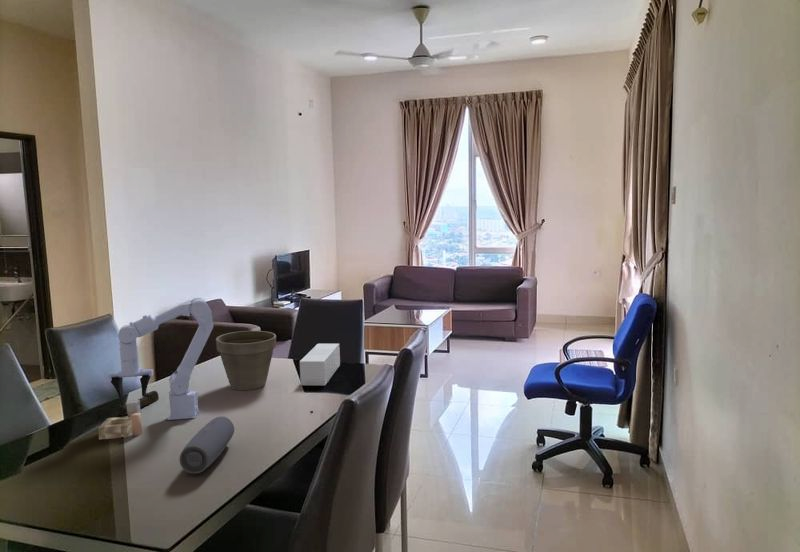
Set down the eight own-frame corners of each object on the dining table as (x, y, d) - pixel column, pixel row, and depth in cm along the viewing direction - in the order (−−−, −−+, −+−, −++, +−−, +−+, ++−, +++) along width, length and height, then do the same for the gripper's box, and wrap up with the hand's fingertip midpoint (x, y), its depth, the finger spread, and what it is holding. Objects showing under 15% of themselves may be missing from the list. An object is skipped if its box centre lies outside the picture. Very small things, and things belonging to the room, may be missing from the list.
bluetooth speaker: (208, 444, 180) (206, 414, 178) (236, 444, 179) (235, 414, 178) (178, 478, 157) (175, 444, 156) (211, 478, 157) (208, 444, 156)
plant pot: (290, 381, 244) (288, 333, 242) (247, 398, 223) (244, 345, 221) (250, 374, 257) (247, 328, 255) (206, 389, 237) (203, 339, 234)
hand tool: (125, 417, 206) (124, 405, 206) (117, 416, 208) (116, 404, 207) (163, 401, 224) (163, 390, 223) (156, 400, 225) (155, 389, 225)
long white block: (318, 365, 271) (317, 343, 269) (340, 365, 270) (339, 343, 268) (300, 385, 239) (299, 361, 238) (325, 385, 238) (324, 361, 237)
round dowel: (143, 432, 191) (141, 412, 190) (140, 435, 188) (139, 415, 187) (134, 432, 191) (132, 413, 190) (131, 436, 188) (129, 416, 187)
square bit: (141, 421, 201) (139, 399, 201) (138, 424, 198) (136, 402, 197) (131, 421, 201) (129, 400, 200) (128, 425, 198) (126, 403, 197)
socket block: (135, 427, 196) (135, 416, 195) (127, 437, 187) (126, 425, 187) (108, 429, 194) (107, 418, 194) (99, 439, 186) (98, 427, 185)
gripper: (154, 355, 202) (157, 391, 203) (111, 357, 200) (114, 394, 201) (148, 360, 195) (151, 397, 196) (104, 363, 193) (107, 400, 194)
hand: (132, 396), depth 198 cm, fingers open, 7 cm apart
